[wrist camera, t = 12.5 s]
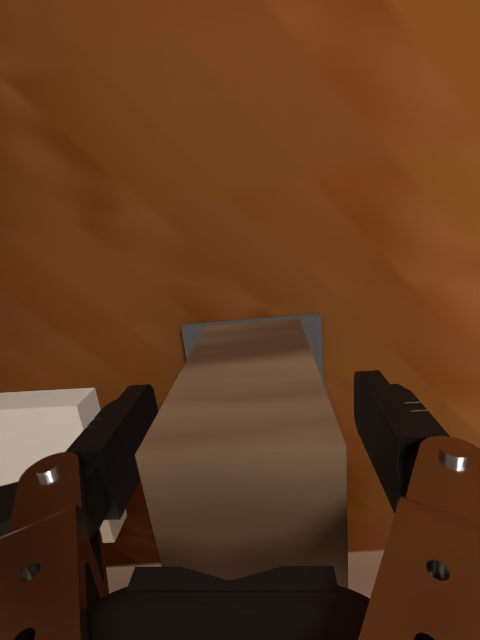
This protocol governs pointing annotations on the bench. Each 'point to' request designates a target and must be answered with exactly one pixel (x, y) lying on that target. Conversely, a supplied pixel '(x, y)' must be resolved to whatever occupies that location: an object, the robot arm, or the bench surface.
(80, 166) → the bench surface
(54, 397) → the slab tile
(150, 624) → the robot arm
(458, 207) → the bench surface
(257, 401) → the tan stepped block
